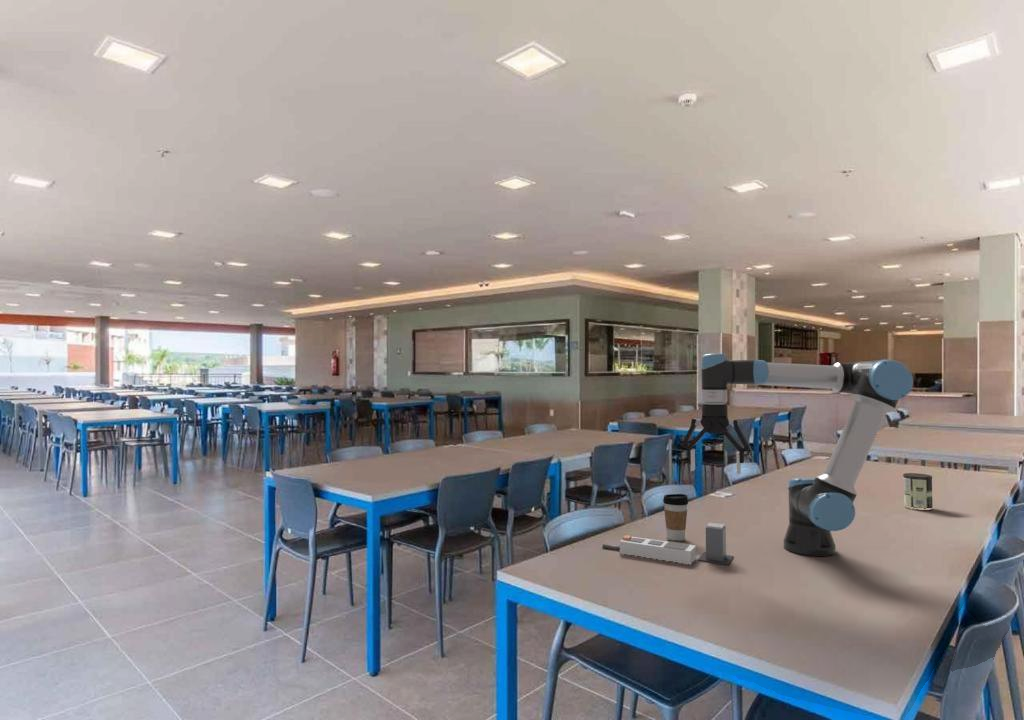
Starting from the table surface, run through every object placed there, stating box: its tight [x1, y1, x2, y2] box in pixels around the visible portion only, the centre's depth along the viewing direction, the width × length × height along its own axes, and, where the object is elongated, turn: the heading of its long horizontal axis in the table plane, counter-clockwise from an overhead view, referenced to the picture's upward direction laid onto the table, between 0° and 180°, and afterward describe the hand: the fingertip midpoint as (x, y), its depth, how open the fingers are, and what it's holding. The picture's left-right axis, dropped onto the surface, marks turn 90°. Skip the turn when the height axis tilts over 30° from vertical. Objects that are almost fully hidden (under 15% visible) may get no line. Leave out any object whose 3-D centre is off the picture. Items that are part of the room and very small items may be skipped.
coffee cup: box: [662, 493, 689, 541], centre depth 205 cm, size 8×8×15 cm
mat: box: [697, 551, 735, 566], centre depth 182 cm, size 9×9×1 cm
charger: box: [705, 522, 727, 561], centre depth 182 cm, size 5×5×10 cm
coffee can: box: [902, 472, 933, 509], centre depth 251 cm, size 10×10×14 cm
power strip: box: [602, 534, 697, 566], centre depth 186 cm, size 29×7×5 cm, turn 60°
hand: (715, 472), depth 182 cm, fingers open, 13 cm apart
